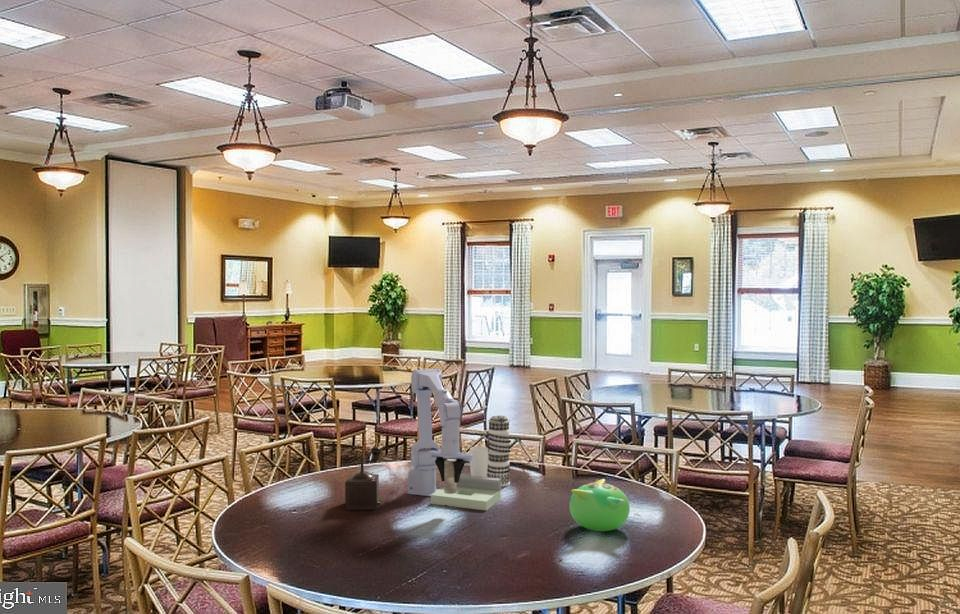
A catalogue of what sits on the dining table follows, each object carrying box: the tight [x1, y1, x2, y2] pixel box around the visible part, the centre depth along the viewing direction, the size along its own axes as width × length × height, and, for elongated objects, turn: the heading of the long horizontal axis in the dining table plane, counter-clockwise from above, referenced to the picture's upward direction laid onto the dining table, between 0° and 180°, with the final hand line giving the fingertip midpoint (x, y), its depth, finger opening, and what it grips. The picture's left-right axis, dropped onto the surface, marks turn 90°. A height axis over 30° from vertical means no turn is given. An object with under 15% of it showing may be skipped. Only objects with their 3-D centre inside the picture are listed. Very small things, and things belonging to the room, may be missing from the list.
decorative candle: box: [486, 415, 512, 488], centre depth 271 cm, size 9×9×25 cm
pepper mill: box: [344, 446, 383, 512], centre depth 246 cm, size 16×11×18 cm
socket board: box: [430, 474, 502, 511], centre depth 249 cm, size 20×14×7 cm
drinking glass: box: [469, 445, 489, 477], centre depth 263 cm, size 7×7×15 cm
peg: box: [443, 459, 457, 494], centre depth 236 cm, size 4×4×10 cm
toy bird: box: [569, 478, 630, 532], centre depth 221 cm, size 18×17×15 cm
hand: (450, 481), depth 236 cm, fingers closed on peg, 4 cm apart
